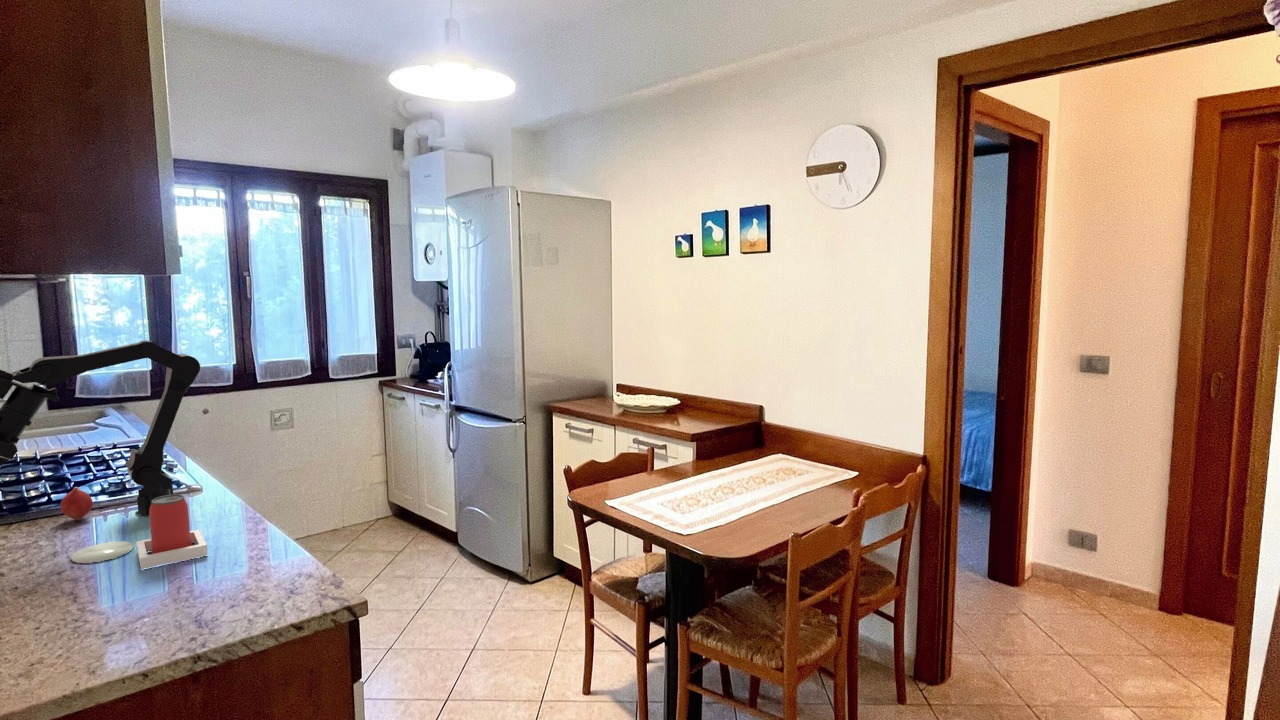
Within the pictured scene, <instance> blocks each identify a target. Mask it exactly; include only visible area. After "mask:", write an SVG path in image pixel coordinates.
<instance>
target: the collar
mask: <svg viewBox="0 0 1280 720" xmlns="http://www.w3.org/2000/svg"><path fill="white" fill-rule="evenodd" d="M190 539H191V543H195V544H194V545H191V546H189V547H184V548H179V549H174V550H170V551H165V552H160V553H155V554H148V553H147V552H148V551H152V542H151V538H148V539H143V540H138V541H135V542H136V552H137V553H138V554H137V557H138V558H139V559H138V562H140V563H139V566H140V567H141V568H140V570H141V569H144V568H149V567H153V566H157V565H161V564H166V563H171V562H176V561H182V560H188V559H192V558H196V557H201V556H205V555H209V554H208V544H207V542H206V540H205V538H204V536H203V533H202V532H201V529H195V530H190Z"/></svg>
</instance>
